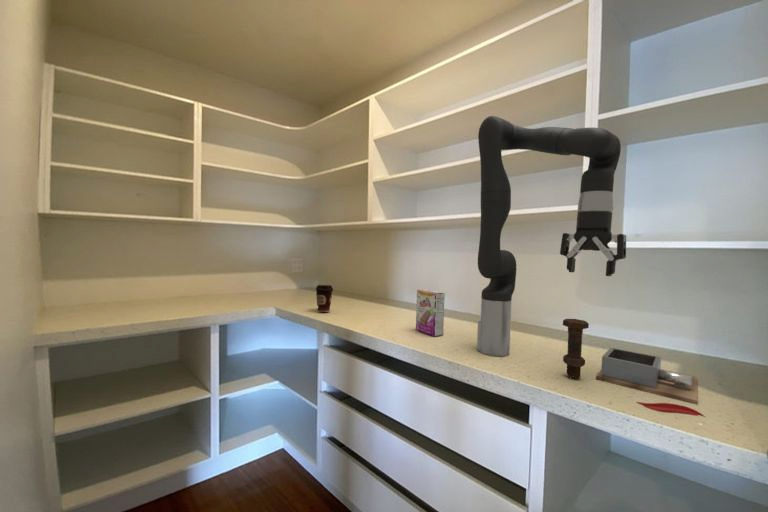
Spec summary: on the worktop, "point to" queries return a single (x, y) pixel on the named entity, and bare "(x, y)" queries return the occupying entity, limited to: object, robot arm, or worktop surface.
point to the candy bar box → (430, 312)
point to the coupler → (640, 369)
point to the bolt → (574, 347)
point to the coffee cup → (324, 297)
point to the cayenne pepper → (671, 408)
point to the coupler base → (660, 388)
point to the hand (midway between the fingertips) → (589, 274)
